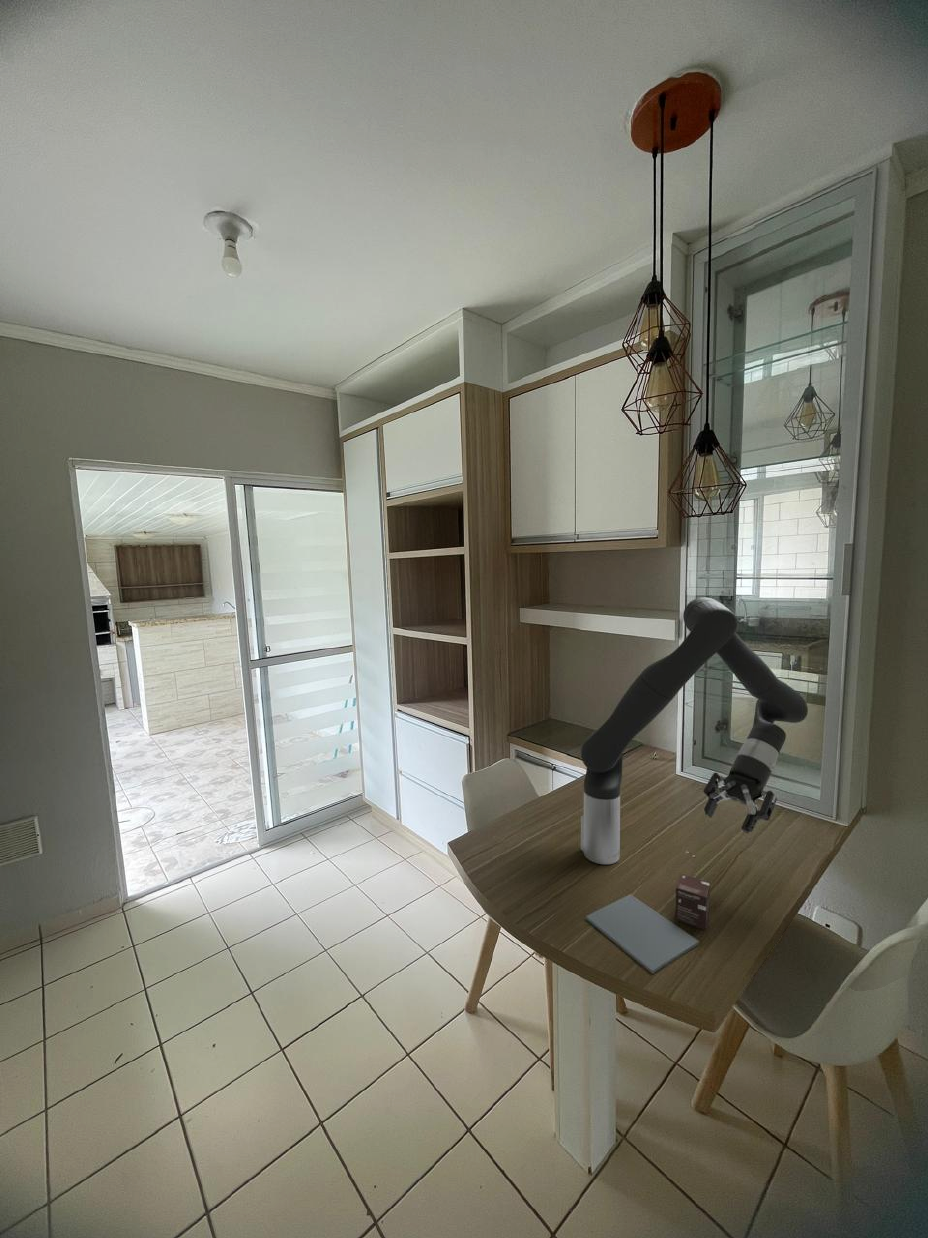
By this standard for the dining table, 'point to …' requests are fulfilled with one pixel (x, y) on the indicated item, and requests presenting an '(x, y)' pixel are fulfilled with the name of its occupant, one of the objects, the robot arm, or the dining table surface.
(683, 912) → the box
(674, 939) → the mat
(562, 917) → the dining table surface
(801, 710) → the robot arm
